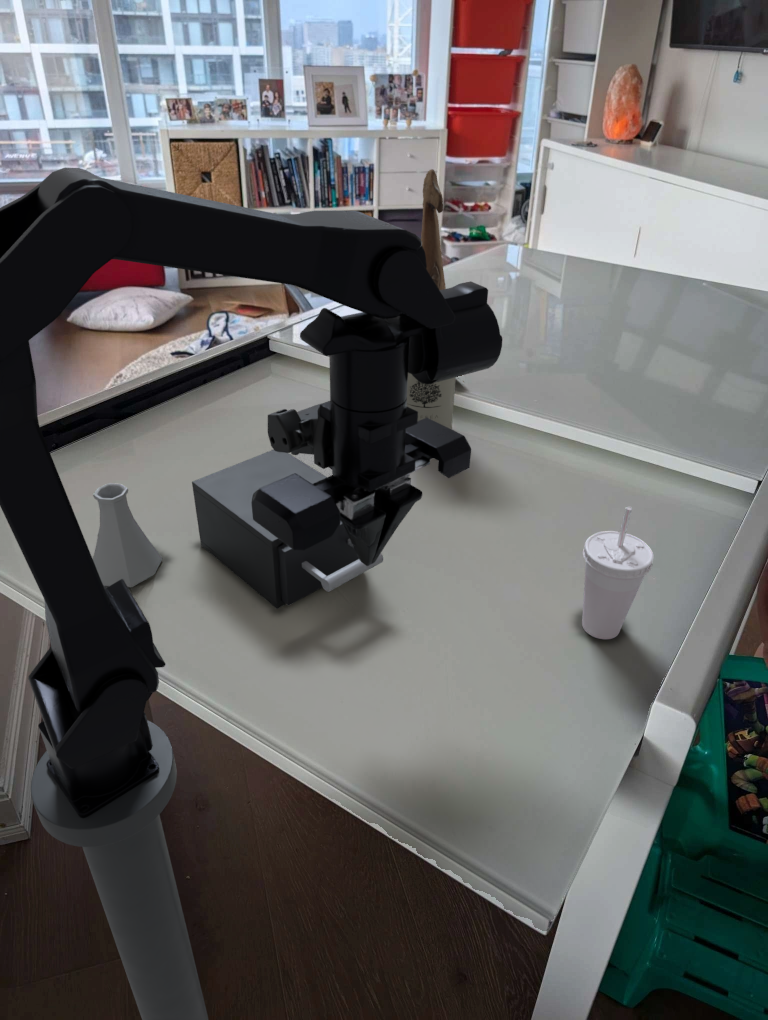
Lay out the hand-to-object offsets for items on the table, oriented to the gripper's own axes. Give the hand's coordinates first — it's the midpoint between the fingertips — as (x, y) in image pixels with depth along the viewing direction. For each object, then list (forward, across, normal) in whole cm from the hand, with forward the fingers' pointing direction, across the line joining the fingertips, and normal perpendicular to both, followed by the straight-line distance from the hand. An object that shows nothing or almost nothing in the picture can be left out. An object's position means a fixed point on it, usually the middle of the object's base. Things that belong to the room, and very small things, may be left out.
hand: (367, 562), depth 65 cm
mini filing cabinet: (+12, -4, -19) cm, 23 cm away
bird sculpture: (+12, -50, -43) cm, 67 cm away
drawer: (+11, -4, -15) cm, 19 cm away
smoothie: (+12, -21, +12) cm, 27 cm away
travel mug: (+12, -36, -28) cm, 47 cm away
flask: (+12, +10, -28) cm, 32 cm away
